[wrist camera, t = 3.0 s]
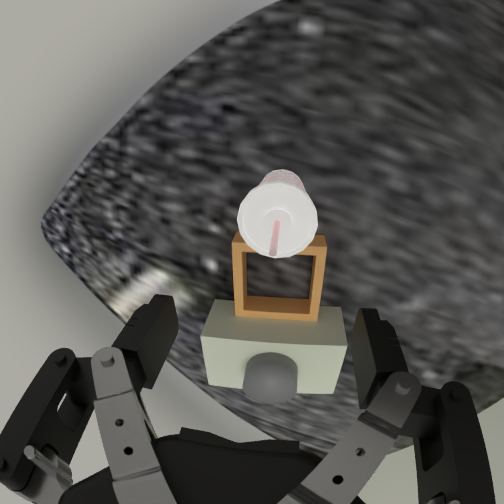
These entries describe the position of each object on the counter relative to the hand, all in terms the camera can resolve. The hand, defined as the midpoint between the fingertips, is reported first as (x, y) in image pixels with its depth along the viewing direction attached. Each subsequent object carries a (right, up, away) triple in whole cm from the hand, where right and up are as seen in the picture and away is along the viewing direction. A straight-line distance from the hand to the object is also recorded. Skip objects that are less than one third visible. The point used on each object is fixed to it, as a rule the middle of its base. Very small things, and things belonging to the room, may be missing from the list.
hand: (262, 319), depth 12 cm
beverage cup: (+3, +9, +18) cm, 20 cm away
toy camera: (+3, -3, +24) cm, 24 cm away
